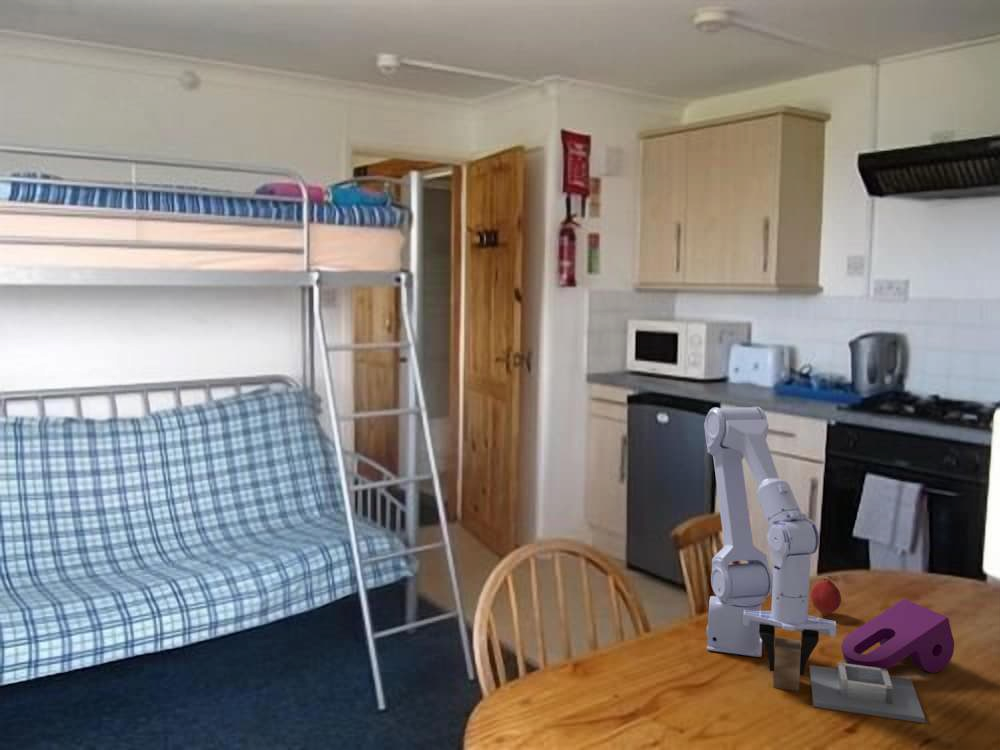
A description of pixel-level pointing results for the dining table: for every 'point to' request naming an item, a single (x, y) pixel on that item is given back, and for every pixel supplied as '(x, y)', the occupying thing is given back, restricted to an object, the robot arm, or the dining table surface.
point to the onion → (825, 597)
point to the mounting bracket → (902, 639)
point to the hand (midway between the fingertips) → (786, 671)
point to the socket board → (865, 692)
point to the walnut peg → (787, 664)
